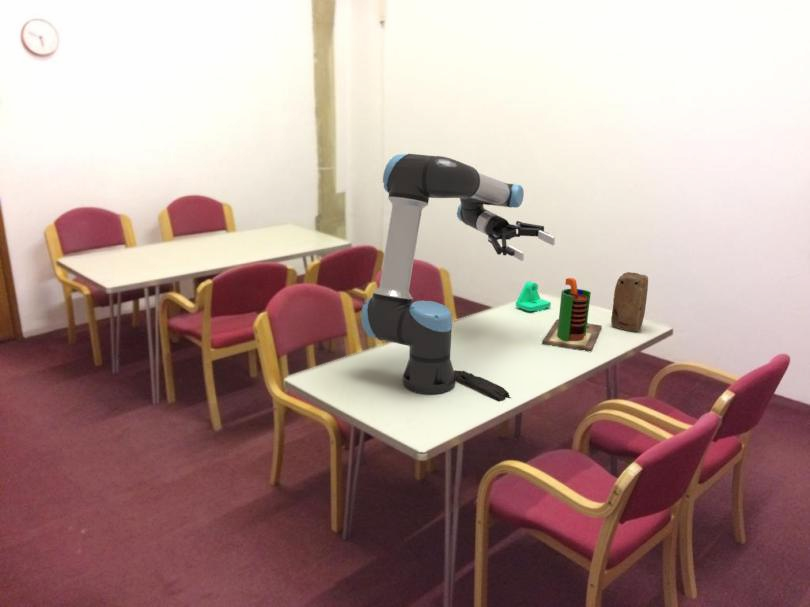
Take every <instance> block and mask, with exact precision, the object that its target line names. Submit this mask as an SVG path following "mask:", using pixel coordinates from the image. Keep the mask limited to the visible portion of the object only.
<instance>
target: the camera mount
mask: <svg viewBox="0 0 810 607" xmlns="http://www.w3.org/2000/svg"><path fill="white" fill-rule="evenodd" d="M538 290H539V285H538V284H537V283H536V282H533V281H529V280H528V281H527V282H525V284H524V285H523V287H522V290H521V292H520V293H519V295H518V297H517V299H516V302H515V307H517V308H519V309H522V310H524V311H527V312H535V313H538V311H539V312H542V310H543V311H546V308H547V309H548V308H551V305H552V302H551V301H548V300H546V299H542V298H541V296H540V294H539V291H538Z"/></svg>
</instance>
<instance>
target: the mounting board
mask: <svg viewBox="0 0 810 607" xmlns="http://www.w3.org/2000/svg"><path fill="white" fill-rule="evenodd" d="M558 322H559V318H556V320H554V323H553V325H552V326H551V327H550V329H549V330H548V332H547V334H546V335H545V336H544V338H543V340H542V341H541V342H542V343H541V344H542V345H543V344H544V345H543V346H550V345H552V346H551V347H556V346H558V347H557V348H563V347H564V349H569V348H572V349H571V350H576V349H578V351H582V350H585V351H584V352H589V351H591V350H593V348H594V346H595V344H596V342H597V340H596V339H598V337H599V335H600V333H599V332H601V331H600V330H602V327H603V326H602V325H601V324H594V323H588V322H587V328H586V336H584V339H583V340H581V341H570V340H569V341H564V340H562V339H560V338H558V337H557V331H558ZM591 352H592V351H591Z"/></svg>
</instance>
